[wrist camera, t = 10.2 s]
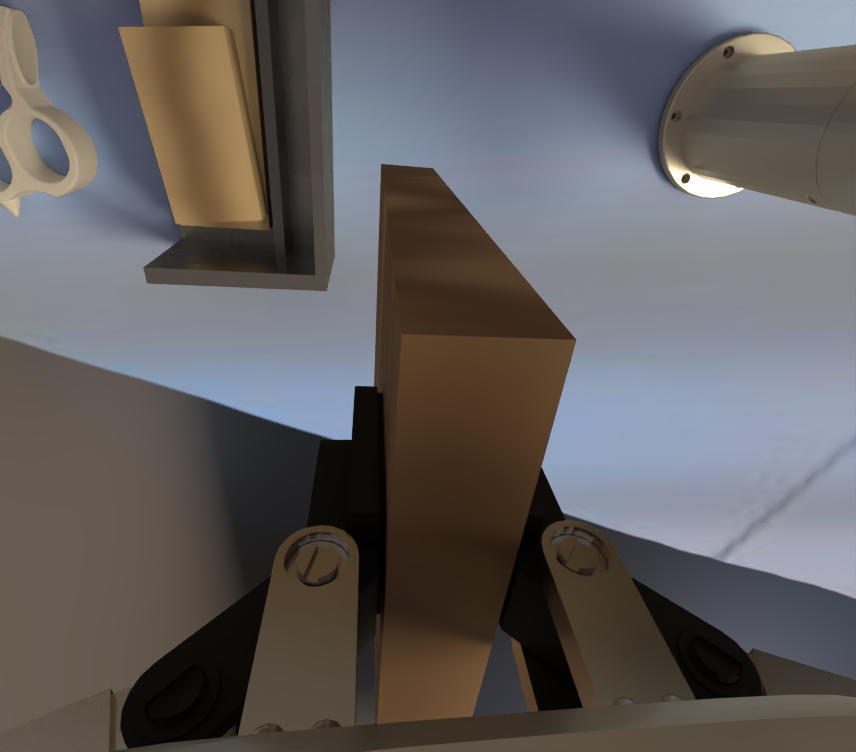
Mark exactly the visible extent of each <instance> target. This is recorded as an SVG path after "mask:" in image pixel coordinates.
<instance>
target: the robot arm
mask: <svg viewBox="0 0 856 752" xmlns="http://www.w3.org/2000/svg"><path fill="white" fill-rule="evenodd" d="M723 53H724V54H723ZM672 114H673V117H672ZM658 151H659V156H660V162H661V165H662V167H663V170H664V172H665V174H666V176H667V177H668V178H669V180H670V181H671V183H672V184H674V185H675V186H676V187H677V188H678V189H679V190H681V191H683V192H685V193H687V194H690V195H693V196H697V197H700V198H719V197H725V196H728V195H731V194H734V193H737V192H739V191H741V190H743V189H748V190H752V191H756V192H760V193H764V194H769V195H773V196H777V197H781V198H785V199H789V200H793V201H797V202H801V203H805V204H809V205H814V206H818V207H822V208H826V209H830V210H834V211H838V212H842V213H846V214H850V215H854V216H856V45H848V46H839V47H830V48H821V49H811V50H802V51H796V49H795V48H794V47H793V46H792V45H791V44H790V43H789V42H787V41H786V40H784V39H783V38H781V37H780V36H776V35H772V34H769V33H750V34H744V35H739V36H736V37H733V38H730V39H727V40H724V41H723V42H721V43H719V44H717V45H716V46H714V47H712V48H710V49H709V50H708V51H707V52H705V53H704V54H703V55H702V56H700V57H699V58H698V59H697V60H696V61H695V62H694V63H693V64H692V65H691V66H690V67H689V68H688V70H687V71H686V72H685V73H684V74H683V76H682V77H681V79H680V80H679V82H678V83H677V84H676V86H675V87H674V89H673V91H672V93H671V95H670V97H669V99H668V101H667V103H666V106H665V109H664V112H663V115H662V118H661V123H660V128H659V134H658ZM681 178H682V179H681ZM385 535H386V473H385V442H384V412H383V393H378V387H371V386H355V395H354V411H353V427H352V440H321V441H320V446H319V452H318V459H317V465H316V472H315V478H314V484H313V491H312V497H311V504H310V510H309V517H308V524H307V528H305V529H303V530H300V531H297V532H296V533H295V534H293V535H292V536H291V537H289V538H287V540H286V541H285V542H284V543H283V544H282V546H281V547H280V548H279V550H278V552H277V555H276V558H275V561H274V565H273V570H272V575H271V576H270V577H269V578H268V579H266V580H265V581H264V582H262V583H261V584H260V585H258V586H257V587H256V588H254V589H253V590H252V591H250V592H249V593H248V594H246V595H245V596H244V597H242V598H241V599H240V600H238V601H237V602H236V603H234V604H233V605H232V606H230V607H229V608H228V609H226V610H225V611H224V612H222V613H221V614H220V615H219V616H217V617H215V618H214V619H213V620H211V621H210V622H209V623H208V624H206V625H205V626H203V627H202V628H201V629H200V630H198V631H197V632H196V633H194V634H193V635H191V636H190V637H189V638H187V639H186V640H185V641H183V642H182V643H181V644H180V645H178V646H177V647H175V648H174V649H173V650H172V651H170V652H169V653H168V654H166V655H165V656H164V657H162V658H161V659H159V660H158V661H157V662H156V663H154V664H153V665H152V666H151V667H150V668H149V669H148V670H147V671H146V672H144V673H143V674H142V675H141V676H140V678H139V679H138V680H137V682H136V683H135V685H133V686H131V687H128V688H126V689H123V690H121V691H118V692H116V693H113V691H112V689H111V688H109V689H106V690H104V691H101V692H99V693H97V694H94V695H92V696H89V697H87V698H84V699H82V700H80V701H77V702H74V703H72V704H69V705H67V706H65V707H62V708H60V709H57V710H55V711H52V712H50V713H47V714H45V715H43V716H40V717H38V718H35V719H33V720H30V721H28V722H25V723H23V724H20V725H18V726H15V727H13V728H10V729H8V730H5V731H3V732H1V733H0V752H856V680H854V679H851V678H847V677H844V676H841V675H838V674H834V673H831V672H828V671H825V670H821V669H818V668H815V667H812V666H809V665H805V664H802V663H799V662H796V661H792V660H789V659H786V658H783V657H779V656H776V655H773V654H770V653H766V652H763V651H760V650H757V649H754V648H752V650H751V651H750V652H749V653H746V652H745V651H744V650H743V649H742V648H740V646H739V645H738V644H737V643H736V642H735V641H734V640H732V639H731V638H730V637H728V636H727V635H725V634H724V633H723V632H721V631H720V630H718V629H717V628H715V627H713V626H712V625H710V624H708V623H707V622H705V621H703V620H701V619H700V618H698V617H697V616H695V615H693V614H691V613H690V612H688V611H687V610H685V609H683V608H682V607H680V606H678V605H677V604H675V603H673V602H672V601H670V600H668V599H667V598H665V597H663V596H662V595H660V594H658V593H657V592H655V591H653V590H652V589H650V588H648V587H647V586H645V585H643V584H642V583H640V582H638V581H637V580H635V579H633V578H632V577H630V575H629V573H628V571H627V569H626V567H625V565H624V563H623V562H622V560H621V558H620V556H619V554H618V552H617V550H616V549H615V547H614V546H613V545H612V543H611V542H610V540H609V539H608V538H607V537H606V536H604V535H603V534H602V533H601V532H600V531H598V530H596V529H595V528H593V527H591V526H590V525H587V524H584V523H581V522H578V521H569V520H565V518H564V516H563V513H562V511H561V509H560V507H559V505H558V502H557V500H556V498H555V496H554V494H553V491H552V489H551V487H550V485H549V482H548V480H547V478H546V476H545V474H544V471H543V469H542V467H541V470H540V473H539V477H538V480H537V484H536V488H535V491H534V495H533V498H532V502H531V506H530V509H529V513H528V517H527V520H526V524H525V527H524V531H523V535H522V538H521V542H520V546H519V549H518V553H517V556H516V560H515V564H514V567H513V571H512V574H511V578H510V582H509V585H508V589H507V593H506V596H505V600H504V603H503V607H502V611H501V614H500V618H499V622H498V625H500V626H501V629H502V630H503V631H504V632H506V633H507V634H509V635H510V636H511V637H512V648H513V652H514V656H515V660H516V664H517V668H518V672H519V676H520V680H521V684H522V688H523V692H524V696H525V700H526V704H527V708H528V712H523V713H511V714H497V715H484V716H471V717H458V718H445V719H432V720H419V721H407V722H395V723H382V724H370V725H358V726H356V703H357V664H358V663H357V662H358V653H359V652H360V651H361V650H362V649H363V648H364V647H365V646H366V645H367V644H368V643H369V642H370V641H371V640H372V639H373V638H374V637H375V636H376V615H377V614H381V604H382V587H383V569H384V552H385Z"/></svg>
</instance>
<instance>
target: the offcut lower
mask: <svg viewBox="0 0 856 752" xmlns="http://www.w3.org/2000/svg"><path fill="white" fill-rule="evenodd" d="M139 2H140V8H141V13H142V19H143V24H144V27H163V26H225V27H227V28H229V29H231V30H233V31H234V36H235V42H236V47H237V52H238V57H239V63H240V68H241V73H242V78H243V83H244V89H245V94H246V99H247V104H248V110H249V115H250V120H251V125H252V131H253V136H254V141H255V146H256V152H257V157H258V162H259V167H260V172H261V178H262V183H263V188H264V193H265V199H266V204H267V209H268V214H267V215H266V217H265V218H264V219H263V220H257V221H234V222H211V223H188V224H180V225H186V226H203V227H220V228H237V229H254V230H270V229H271V228H272V227H273V219H272V206H271V194H270V182H269V170H268V158H267V146H266V134H265V122H264V110H263V98H262V86H261V74H260V62H259V50H258V38H257V26H256V14H255V2H254V0H139Z"/></svg>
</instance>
